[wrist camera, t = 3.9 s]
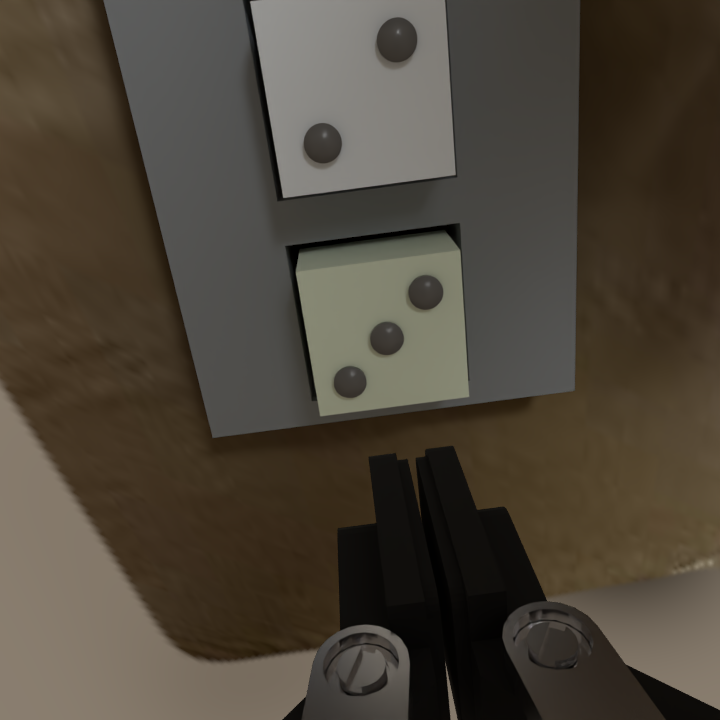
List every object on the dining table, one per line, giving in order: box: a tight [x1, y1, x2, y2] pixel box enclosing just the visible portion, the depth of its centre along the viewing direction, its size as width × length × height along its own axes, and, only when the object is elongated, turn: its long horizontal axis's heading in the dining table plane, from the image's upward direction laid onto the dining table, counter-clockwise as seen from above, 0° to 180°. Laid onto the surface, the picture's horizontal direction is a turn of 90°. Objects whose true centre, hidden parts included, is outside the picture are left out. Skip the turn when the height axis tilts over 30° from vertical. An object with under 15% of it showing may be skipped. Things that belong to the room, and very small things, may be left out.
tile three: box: [296, 230, 469, 416], centre depth 22 cm, size 5×5×3 cm
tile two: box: [250, 0, 456, 198], centre depth 19 cm, size 5×5×3 cm
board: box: [103, 0, 580, 438], centre depth 21 cm, size 14×23×2 cm, turn 7°
